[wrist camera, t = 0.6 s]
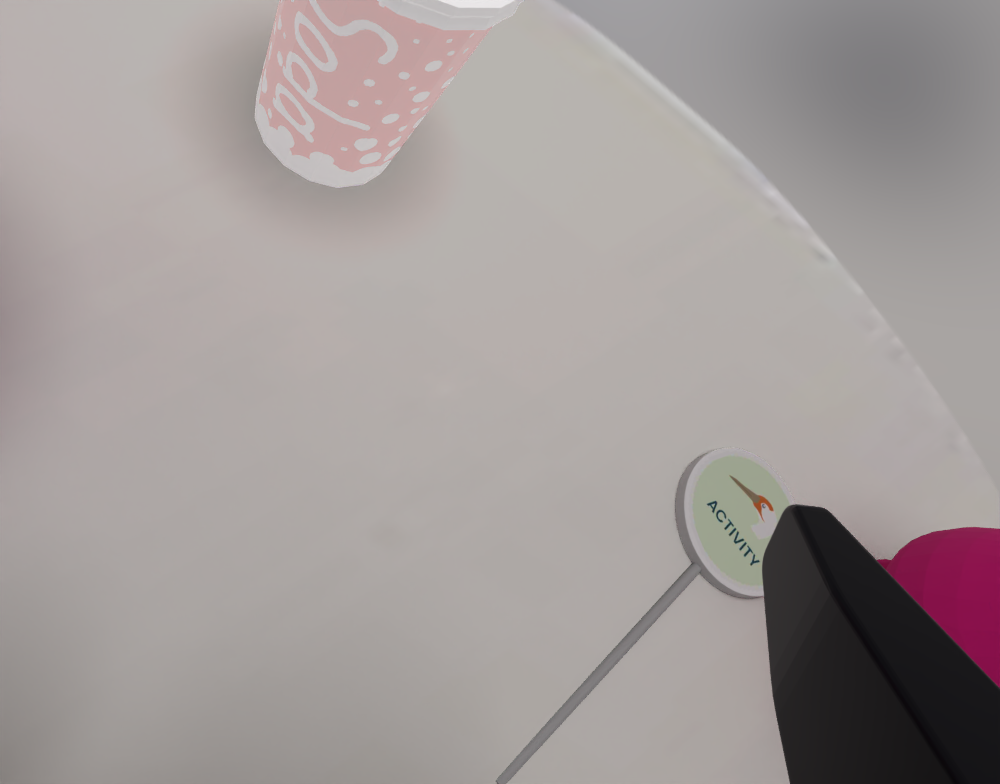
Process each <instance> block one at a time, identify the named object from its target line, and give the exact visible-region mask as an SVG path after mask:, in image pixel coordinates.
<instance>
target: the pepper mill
mask: <svg viewBox="0 0 1000 784" xmlns="http://www.w3.org/2000/svg"><path fill="white" fill-rule="evenodd" d="M877 561H878V562H879V563H880V564H881V565H882V566H883V567H884V568H885V570H886V571H887V572H888V573H889V574H890V575H891V576H892V577H893V578H894V579H895V580H896V581H897V582H898V583H899V584H900V585H901V586H902V587H903V588H904V589H905V590H906V591H907V592H908V593H909V594H910V595H911V596H912V598H913V599H914V600H915V601H916V602H917V603H918V604H919V605H920V606H921V607H922V608H923V609H924V610H925V611H926V612H927V613H928V614H929V615H930V616H931V617H932V618H933V619H934V620H935V621H936V622H937V623H938V624H939V626H940V627H941V628H942V629H943V630H944V631H945V632H946V633H947V634H948V635H949V636H950V637H951V638H952V639H953V640H954V641H955V642H956V643H957V644H958V645H959V646H960V647H961V648H962V649H963V650H964V651H965V652H966V654H967V655H968V656H969V657H970V658H971V659H972V660H973V661H974V662H975V663H976V664H977V665H978V666H979V667H980V668H981V669H982V670H983V671H984V672H985V673H986V674H987V675H988V676H989V677H990V678H991V679H992V680H993V682H994V683H995V684H996V685H997V686H998V687H999V688H1000V529H994V528H980V527H966V528H958V529H950V530H943V531H935V532H932V533H929V534H926V535H923V536H920V537H918V538H916V539H914V540H912V541H910V542H909V543H908V544H907V545H905V546H904V547H903V548H902V549H900V550H899V551H898V553H897V554H896V555H895V557H894V558H893V559H892V560H887V559H882V560H877Z"/></svg>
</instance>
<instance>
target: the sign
mask: <svg viewBox="0 0 1000 784" xmlns="http://www.w3.org/2000/svg"><path fill="white" fill-rule="evenodd" d="M793 504H795V501H794V499H793V496H792V494H791V492H790V490H789V489H788V487H787V485H786V484H785V482H784V481H783V479H782V478H781V477H780V475H779V474H778V473H777V472H776V471H775V469H774V468H773V467H772V466H771V465H769V464H768V463H767V462H766V461H765V460H763V459H762V458H760V457H759V456H757V455H755V454H754V453H751V452H749V451H747V450H744V449H740V448H733V447H726V448H720V449H716V450H713V451H711V452H709V453H706V454H704V455H702V456H700V457H698V458H697V459H695V460H694V461H693V462H692V463H691V464H690V465H689V466H688V467H687V468H686V470H685V471H684V473H683V475H682V477H681V479H680V482H679V485H678V488H677V493H676V500H675V514H676V523H677V528H678V532H679V535H680V538H681V541H682V544H683V546H684V549H685V551H686V553H687V555H688V557H689V558H690V560H691V562H692V564H691V565H690V566H689V568H688V569H687V570H686V571H685V572H684V573H683V574H682V575H681V576H680V577H679V578H678V579H677V581H676V582H675V583H674V584H673V585H672V586H671V587H670V588H669V589H668V590H667V591H666V593H665V594H664V595H663V596H662V597H661V598H660V599H659V600H658V601H657V602H656V603H655V604H654V606H653V607H652V608H651V609H650V610H649V611H648V612H647V613H646V614H645V615H644V616H643V617H642V619H641V620H640V621H639V622H638V623H637V624H636V625H635V626H634V627H633V628H632V630H631V631H630V632H629V633H628V634H627V635H626V636H625V637H624V638H623V639H622V641H621V642H620V643H619V644H618V645H617V646H616V647H615V648H614V649H613V650H612V652H611V653H610V654H609V655H608V656H607V657H606V658H605V659H604V660H603V661H602V662H601V664H600V665H599V666H598V667H597V668H596V669H595V670H594V671H593V672H592V673H591V675H590V676H589V677H588V678H587V679H586V680H585V681H584V682H583V683H582V685H581V686H580V687H579V688H578V689H577V690H576V691H575V692H574V693H573V695H572V696H571V697H570V698H569V699H568V700H567V701H566V702H565V703H564V705H563V706H562V707H561V708H560V709H559V710H558V711H557V712H556V713H555V715H554V716H553V717H552V718H551V719H550V720H549V721H548V722H547V723H546V725H545V726H544V727H543V728H542V729H541V730H540V731H539V732H538V734H537V735H536V736H535V737H534V738H533V739H532V740H531V741H530V743H529V744H528V745H527V746H526V747H525V748H524V749H523V750H522V752H521V753H520V754H519V755H518V756H517V757H516V758H515V759H514V761H513V762H512V763H511V764H510V765H509V766H508V767H507V768H506V770H505V771H504V772H503V773H502V774H501V775H500V776H499V777H498V779H497V780H496V782H497V783H498V784H506V783H507V782H508V781H509V780H510V779H511V778H512V777H513V776H514V775H515V774H516V773H517V771H518V770H519V769H520V768H521V767H522V766H523V765H524V764H525V763H526V762H527V761H528V760H529V758H530V757H531V756H532V755H533V754H534V753H535V752H536V751H537V750H538V749H539V748H540V747H541V746H542V744H543V743H544V742H545V741H546V740H547V739H548V738H549V737H550V736H551V735H552V734H553V733H554V731H555V730H556V729H557V728H558V727H559V726H560V725H561V724H562V723H563V722H564V721H565V719H566V718H567V717H568V716H569V715H570V714H571V713H572V712H573V711H574V710H575V709H576V707H577V706H578V705H579V704H580V703H581V702H582V701H583V700H584V699H585V698H586V697H587V695H588V694H589V693H590V692H591V691H592V690H593V689H594V688H595V687H596V686H597V684H598V683H599V682H600V681H601V680H602V679H603V678H604V677H605V676H606V675H607V674H608V672H609V671H610V670H611V669H612V668H613V667H614V666H615V665H616V664H617V663H618V662H619V660H620V659H621V658H622V657H623V656H624V655H625V654H626V653H627V652H628V651H629V649H630V648H631V647H632V646H633V645H634V644H635V643H636V642H637V641H638V640H639V639H640V637H641V636H642V635H643V634H644V633H645V632H646V631H647V630H648V629H649V628H650V627H651V625H652V624H653V623H654V622H655V621H656V620H657V619H658V618H659V617H660V616H661V614H662V613H663V612H664V611H665V610H666V609H667V608H668V607H669V606H670V605H671V604H672V602H673V601H674V600H675V599H676V598H677V597H678V596H679V595H680V594H681V593H682V592H683V590H684V589H685V588H686V587H687V586H688V585H689V584H690V583H691V582H692V581H693V579H694V578H695V577H696V576H697V575H698V574H699V573H700V574H701V575H702V576H703V577H704V578H705V579H706V580H707V581H708V582H709V583H711V584H712V585H713V586H715V587H716V588H717V589H719V590H721V591H722V592H724V593H726V594H729V595H732V596H735V597H740V598H755V597H761V596H764V591H763V579H762V561H763V556H764V552H765V550H766V547H767V545H768V543H769V541H770V539H771V536H772V534H773V532H774V530H775V528H776V526H777V523H778V521H779V519H780V517H781V515H782V513H783V511H784V510H785V508H786V507H788V506H789V505H793Z"/></svg>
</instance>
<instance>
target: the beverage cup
mask: <svg viewBox="0 0 1000 784" xmlns="http://www.w3.org/2000/svg"><path fill="white" fill-rule="evenodd" d="M523 1H525V0H280V1H279V5H278V9H277V13H276V17H275V21H274V26H273V30H272V34H271V38H270V42H269V46H268V50H267V54H266V58H265V62H264V67H263V71H262V75H261V79H260V83H259V87H258V91H257V95H256V108H255V121H256V123H257V126H258V129H259V131H260V134H261V136H262V139H263V142H264V144H265V145H266V146H267V147H268V148H269V149H270V151H271V152H272V153H273V154H274V155H275V156H276V157H277V159H278V160H279V161H280V162H281V163H282V164H283V165H284V166H285V167H287V168H288V169H290V170H292V171H293V172H295V173H297V174H298V175H300V176H302V177H303V178H305V179H307V180H308V181H311V182H315V183H319V184H323V185H327V186H331V187H335V188H341V187H350V186H358V185H363V184H365V183H367V182H368V181H370V180H372V179H373V178H375V177H376V176H378V175H380V174H381V173H382V172H383V171H384V169H385V168H386V167H387V165H388V164H389V163H390V161H391V160H392V159H393V157H394V156H395V155H396V153H397V152H398V151H399V150H400V148H401V147H402V146H403V144H404V143H405V142H406V140H407V139H408V138H409V136H410V135H411V134H412V132H413V131H414V130H415V128H416V127H417V126H418V124H419V123H420V122H421V120H422V119H423V118H424V116H425V115H426V114H427V113H428V111H429V110H430V109H431V107H432V106H433V105H434V103H435V102H436V101H437V99H438V98H439V97H440V95H441V94H442V93H443V91H444V90H445V89H446V87H447V86H448V85H449V83H450V82H451V81H452V79H453V78H454V77H455V76H456V74H457V73H458V72H459V70H460V69H461V68H462V66H463V65H464V64H465V62H466V61H467V60H468V58H469V57H470V56H471V54H472V53H473V52H474V50H475V49H476V48H477V46H478V45H479V44H480V43H481V41H482V40H483V39H484V37H485V36H486V35H487V33H488V32H489V31H490V29H491V28H492V27H493V26H494V25H496V24H497V23H499V22H501V21H503V20H505V19H507V18H509V17H510V16H512V15H514V14H515V12H516V10H517V8H518V6H519V4H520V3H521V2H523Z"/></svg>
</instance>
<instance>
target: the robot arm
mask: <svg viewBox="0 0 1000 784" xmlns="http://www.w3.org/2000/svg"><path fill="white" fill-rule="evenodd" d="M762 579H763V591H764V603H765V614H766V626H767V638H768V650H769V662H770V674H771V683H772V692H773V699H774V705H775V711H776V717H777V722H778V727H779V731H780V736H781V741H782V746H783V751H784V756H785V761H786V766H787V771H788V776H789V781H790V784H1000V688H999V687H998V686H997V685H996V684H995V683H994V682H993V680H992V679H991V678H990V677H989V676H988V675H987V674H986V673H985V672H984V671H983V670H982V669H981V668H980V667H979V666H978V665H977V664H976V663H975V662H974V661H973V660H972V659H971V658H970V657H969V656H968V655H967V654H966V652H965V651H964V650H963V649H962V648H961V647H960V646H959V645H958V644H957V643H956V642H955V641H954V640H953V639H952V638H951V637H950V636H949V635H948V634H947V633H946V632H945V631H944V630H943V629H942V628H941V627H940V626H939V624H938V623H937V622H936V621H935V620H934V619H933V618H932V617H931V616H930V615H929V614H928V613H927V612H926V611H925V610H924V609H923V608H922V607H921V606H920V605H919V604H918V603H917V602H916V601H915V600H914V599H913V598H912V596H911V595H910V594H909V593H908V592H907V591H906V590H905V589H904V588H903V587H902V586H901V585H900V584H899V583H898V582H897V581H896V580H895V579H894V578H893V577H892V576H891V575H890V574H889V573H888V572H887V571H886V570H885V568H884V567H883V566H882V565H881V564H880V563H879V562H878V561H877V560H876V559H875V558H874V557H873V556H872V555H871V554H870V553H869V552H868V551H867V550H866V549H865V548H864V547H863V546H862V545H861V544H860V543H859V542H858V540H857V539H856V538H855V537H854V536H853V535H852V534H851V533H850V532H849V531H848V530H847V529H846V528H845V527H844V526H843V525H842V524H841V523H840V522H839V521H838V520H837V519H836V518H835V517H834V516H833V515H832V514H831V513H830V512H829V511H828V510H826V509H825V508H821V507H815V506H806V505H798V504H793V505H789V506H788V507H786V508H785V510H784V511H783V513H782V515H781V517H780V519H779V521H778V523H777V526H776V528H775V530H774V532H773V534H772V536H771V539H770V541H769V543H768V545H767V547H766V550H765V552H764V556H763V561H762Z"/></svg>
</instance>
